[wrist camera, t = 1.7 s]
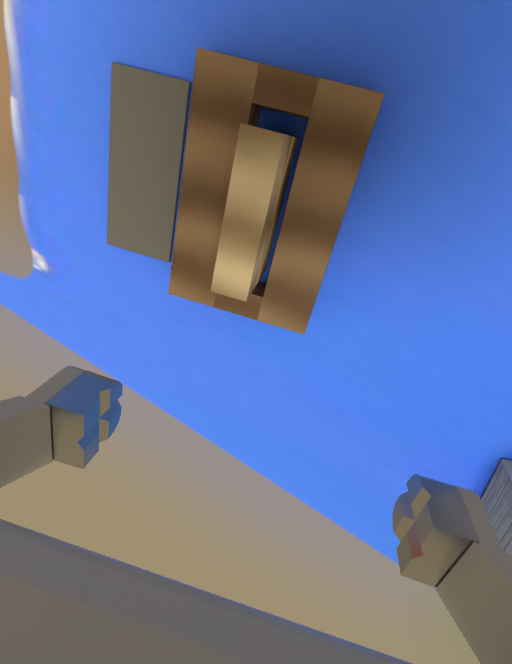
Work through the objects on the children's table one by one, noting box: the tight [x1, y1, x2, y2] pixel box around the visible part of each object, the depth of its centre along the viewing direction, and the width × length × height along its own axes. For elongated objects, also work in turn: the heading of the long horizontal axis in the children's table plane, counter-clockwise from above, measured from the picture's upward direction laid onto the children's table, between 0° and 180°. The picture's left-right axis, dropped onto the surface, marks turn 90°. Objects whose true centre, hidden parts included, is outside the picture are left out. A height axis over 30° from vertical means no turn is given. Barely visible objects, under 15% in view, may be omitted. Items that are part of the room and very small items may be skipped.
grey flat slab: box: [107, 62, 191, 262], centre depth 35 cm, size 16×7×1 cm, turn 167°
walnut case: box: [168, 48, 385, 334], centre depth 32 cm, size 20×14×4 cm
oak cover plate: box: [211, 123, 299, 302], centre depth 30 cm, size 12×3×9 cm, turn 167°
